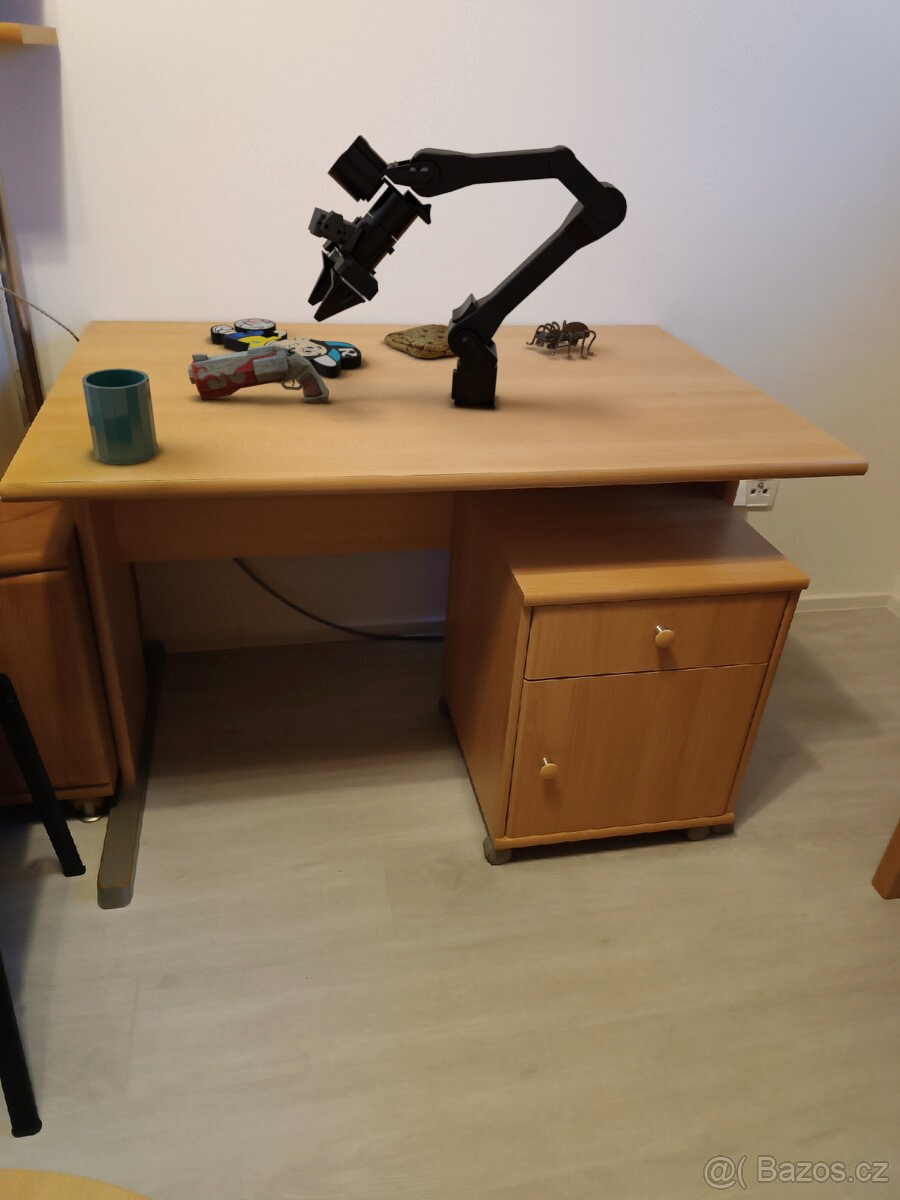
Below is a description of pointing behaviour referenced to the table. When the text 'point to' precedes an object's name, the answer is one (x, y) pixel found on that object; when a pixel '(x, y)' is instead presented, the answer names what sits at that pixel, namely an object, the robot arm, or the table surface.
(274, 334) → the toy
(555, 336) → the toy
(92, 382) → the pen holder
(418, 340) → the pastry
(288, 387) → the toy gun
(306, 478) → the table surface
